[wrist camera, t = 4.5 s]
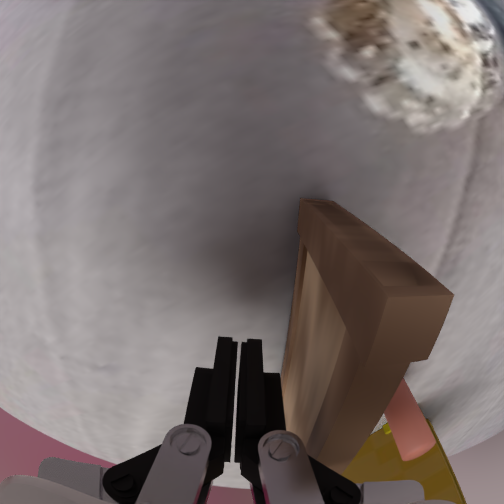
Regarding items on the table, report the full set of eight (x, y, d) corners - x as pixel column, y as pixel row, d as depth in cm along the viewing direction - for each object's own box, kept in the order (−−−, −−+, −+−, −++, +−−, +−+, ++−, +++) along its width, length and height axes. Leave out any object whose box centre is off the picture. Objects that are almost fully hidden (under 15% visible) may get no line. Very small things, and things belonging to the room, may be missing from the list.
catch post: (374, 374, 18) (406, 450, 11) (402, 365, 17) (440, 435, 11) (371, 394, 18) (398, 464, 12) (398, 385, 18) (430, 451, 12)
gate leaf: (300, 198, 13) (388, 296, 4) (332, 200, 13) (454, 295, 4) (271, 417, 18) (277, 525, 10) (292, 416, 18) (304, 522, 10)
